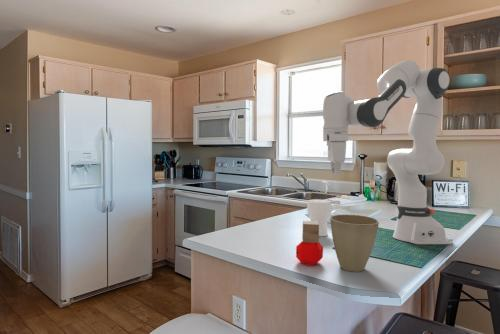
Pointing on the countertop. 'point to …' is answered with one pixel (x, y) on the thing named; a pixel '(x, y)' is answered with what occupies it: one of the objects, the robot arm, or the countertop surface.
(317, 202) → the cup
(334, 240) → the plant pot
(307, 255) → the ball
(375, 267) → the countertop surface
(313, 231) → the walnut block
